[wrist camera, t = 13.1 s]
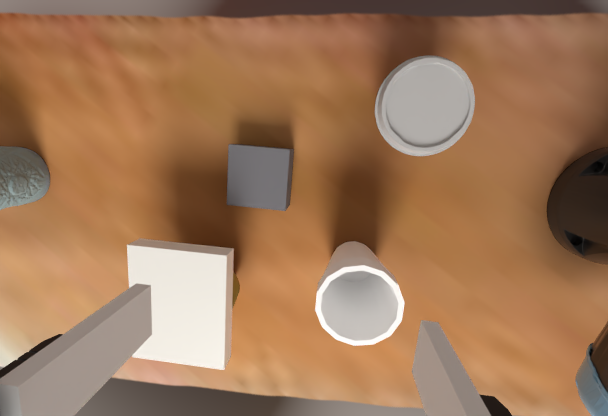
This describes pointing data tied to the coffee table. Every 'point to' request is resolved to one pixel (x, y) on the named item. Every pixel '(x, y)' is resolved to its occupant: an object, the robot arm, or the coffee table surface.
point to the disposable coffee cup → (424, 105)
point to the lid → (185, 301)
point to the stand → (259, 176)
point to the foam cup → (358, 297)
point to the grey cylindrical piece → (21, 176)
